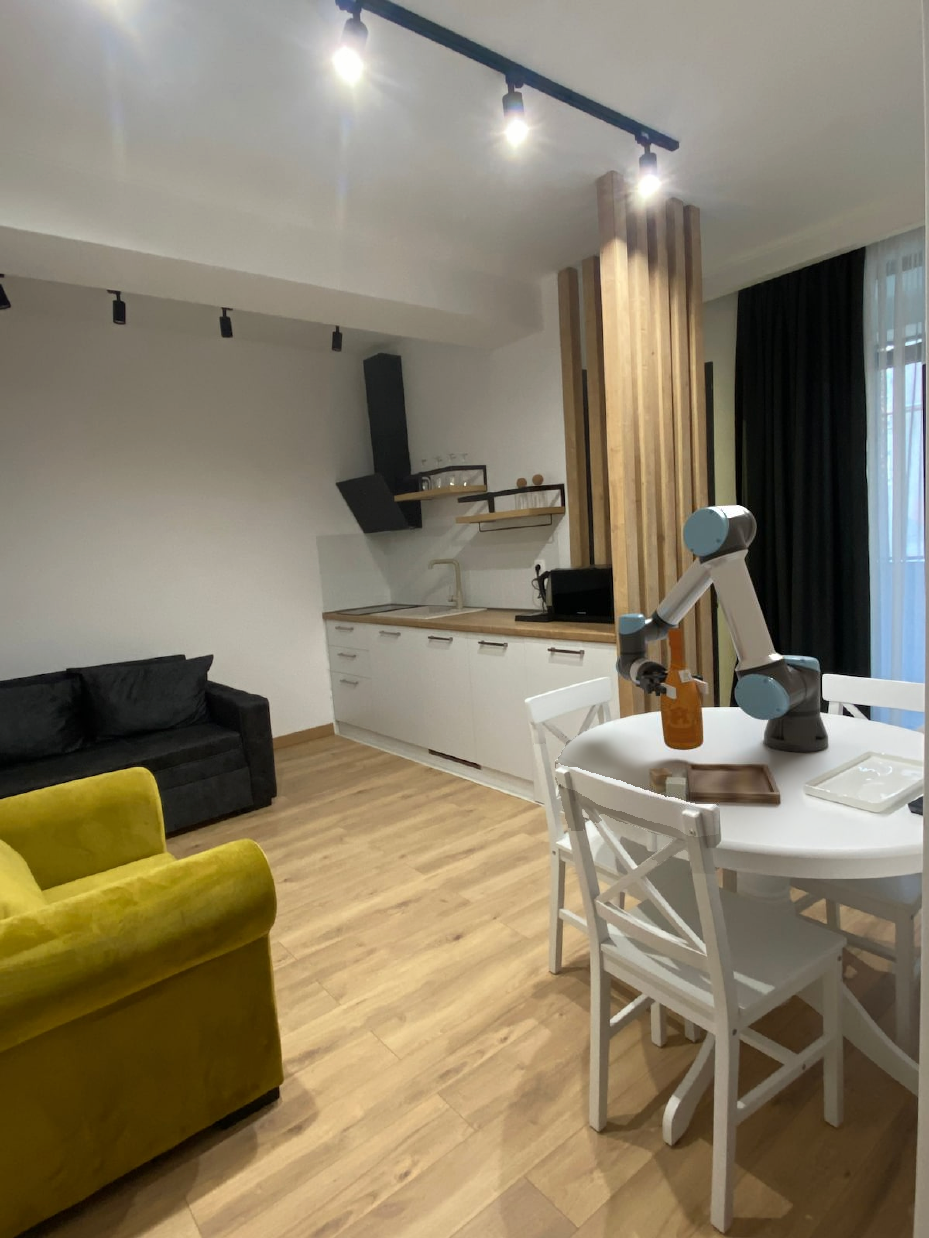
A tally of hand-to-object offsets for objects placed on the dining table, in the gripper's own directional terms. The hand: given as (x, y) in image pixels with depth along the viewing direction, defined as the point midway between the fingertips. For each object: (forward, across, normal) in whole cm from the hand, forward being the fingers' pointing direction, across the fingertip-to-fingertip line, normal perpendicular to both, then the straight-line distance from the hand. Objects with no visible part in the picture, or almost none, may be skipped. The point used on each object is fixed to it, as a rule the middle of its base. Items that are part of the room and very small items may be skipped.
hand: (690, 691), depth 167 cm
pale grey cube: (+16, +13, -19) cm, 28 cm away
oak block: (+10, +14, -19) cm, 25 cm away
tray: (+15, -1, -19) cm, 24 cm away
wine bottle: (-5, 0, -15) cm, 16 cm away
